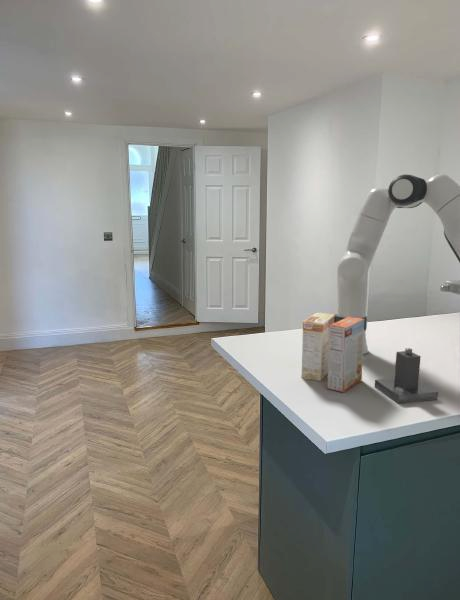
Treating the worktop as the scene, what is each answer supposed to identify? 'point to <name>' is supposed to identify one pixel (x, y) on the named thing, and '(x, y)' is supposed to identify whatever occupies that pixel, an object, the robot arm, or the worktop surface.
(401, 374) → the plug
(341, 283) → the robot arm
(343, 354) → the cracker box
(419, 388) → the socket plate
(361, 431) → the worktop surface
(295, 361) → the worktop surface
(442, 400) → the worktop surface
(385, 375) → the worktop surface
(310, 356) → the coffeecake box
